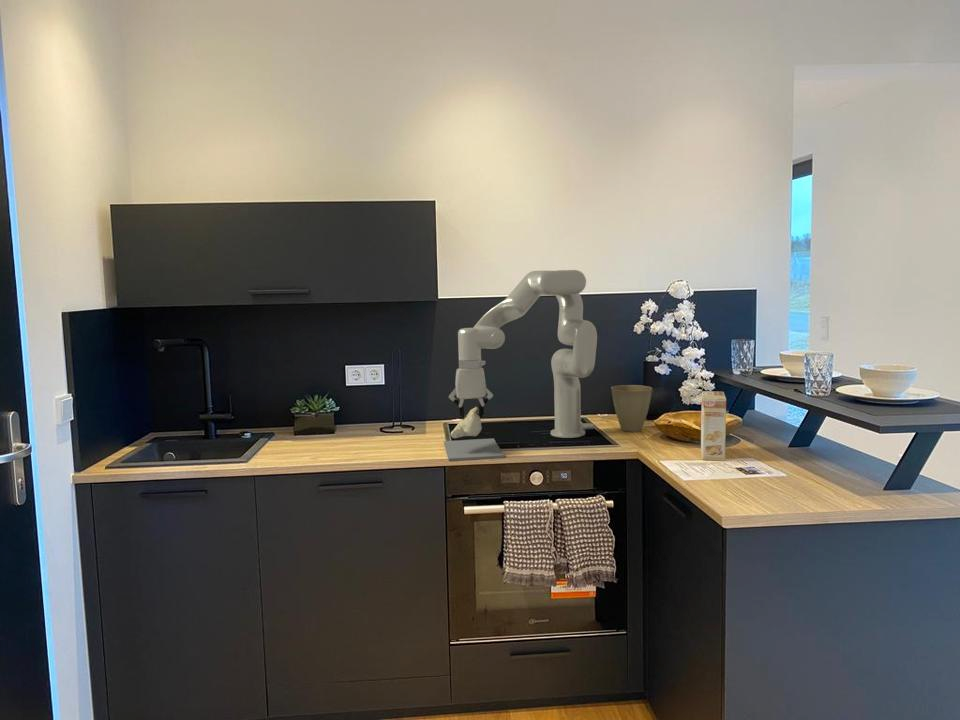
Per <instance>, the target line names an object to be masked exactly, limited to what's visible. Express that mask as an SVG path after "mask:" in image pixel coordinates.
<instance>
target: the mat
mask: <svg viewBox="0 0 960 720" xmlns="http://www.w3.org/2000/svg"><path fill="white" fill-rule="evenodd" d="M443 446H444V448H445V453H446V455H447V456H446V457H447V460H448V461H449V462H453V461H455V462H456V461H457V462H458V461H471V460H473V461H474V460H487V459H488V460H489V459H491V460H493V459H504V458H505V455H504V453H503V451H502V449H501V448H500V446H499V445H498V443H497V442H496V440H495V438H477V439H475V438H474V439H462V440H444V441H443Z"/></svg>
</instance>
